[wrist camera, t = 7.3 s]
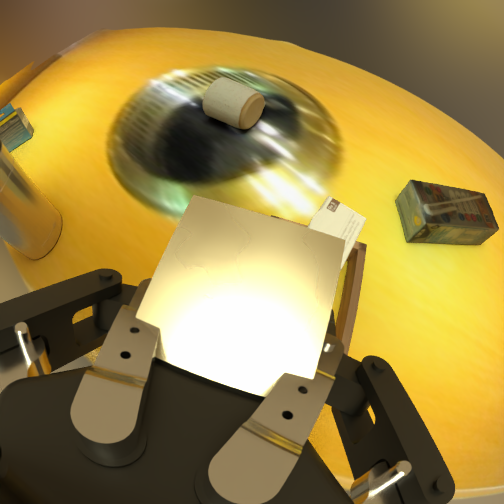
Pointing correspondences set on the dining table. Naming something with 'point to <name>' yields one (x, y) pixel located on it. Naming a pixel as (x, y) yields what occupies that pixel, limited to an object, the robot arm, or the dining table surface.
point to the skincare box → (338, 223)
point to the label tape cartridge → (14, 127)
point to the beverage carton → (444, 214)
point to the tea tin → (242, 296)
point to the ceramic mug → (233, 103)
